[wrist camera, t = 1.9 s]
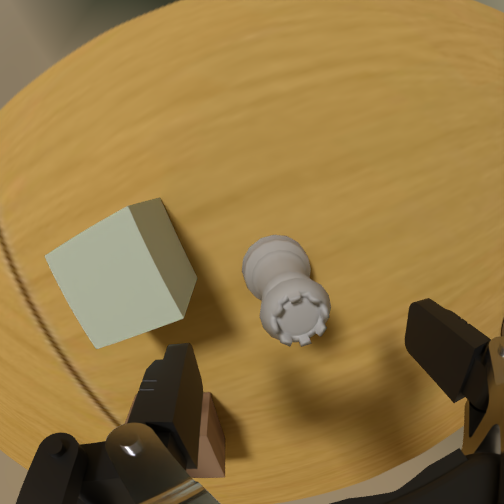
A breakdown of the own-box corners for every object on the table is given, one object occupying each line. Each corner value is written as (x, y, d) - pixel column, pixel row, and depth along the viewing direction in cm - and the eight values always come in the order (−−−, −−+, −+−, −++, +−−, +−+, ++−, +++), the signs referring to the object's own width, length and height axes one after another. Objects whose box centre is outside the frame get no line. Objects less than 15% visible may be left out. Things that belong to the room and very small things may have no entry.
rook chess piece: (277, 307, 20) (300, 378, 12) (228, 270, 19) (224, 330, 11) (319, 261, 19) (369, 311, 12) (271, 219, 18) (298, 248, 11)
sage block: (160, 197, 18) (127, 206, 12) (197, 277, 19) (183, 318, 13) (91, 234, 18) (44, 255, 12) (127, 306, 19) (96, 349, 14)
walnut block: (210, 392, 22) (206, 435, 17) (225, 438, 23) (225, 477, 19) (135, 394, 21) (121, 433, 17) (159, 439, 23) (152, 475, 18)
